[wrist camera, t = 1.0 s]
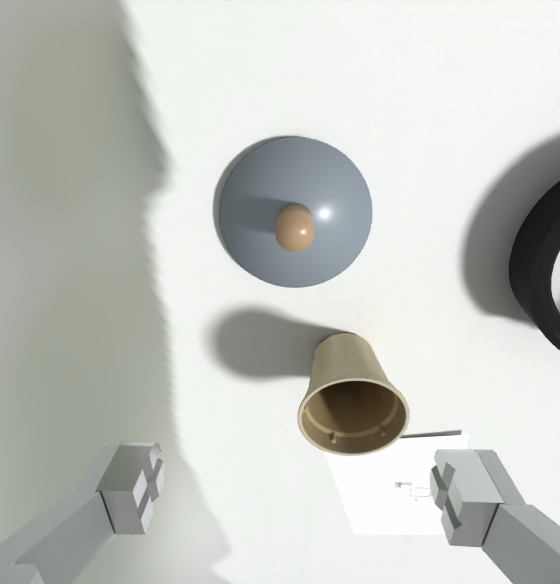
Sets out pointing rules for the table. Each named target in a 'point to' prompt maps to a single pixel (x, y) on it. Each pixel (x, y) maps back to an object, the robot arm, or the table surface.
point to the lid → (295, 212)
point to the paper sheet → (392, 487)
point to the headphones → (538, 264)
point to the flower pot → (351, 400)
